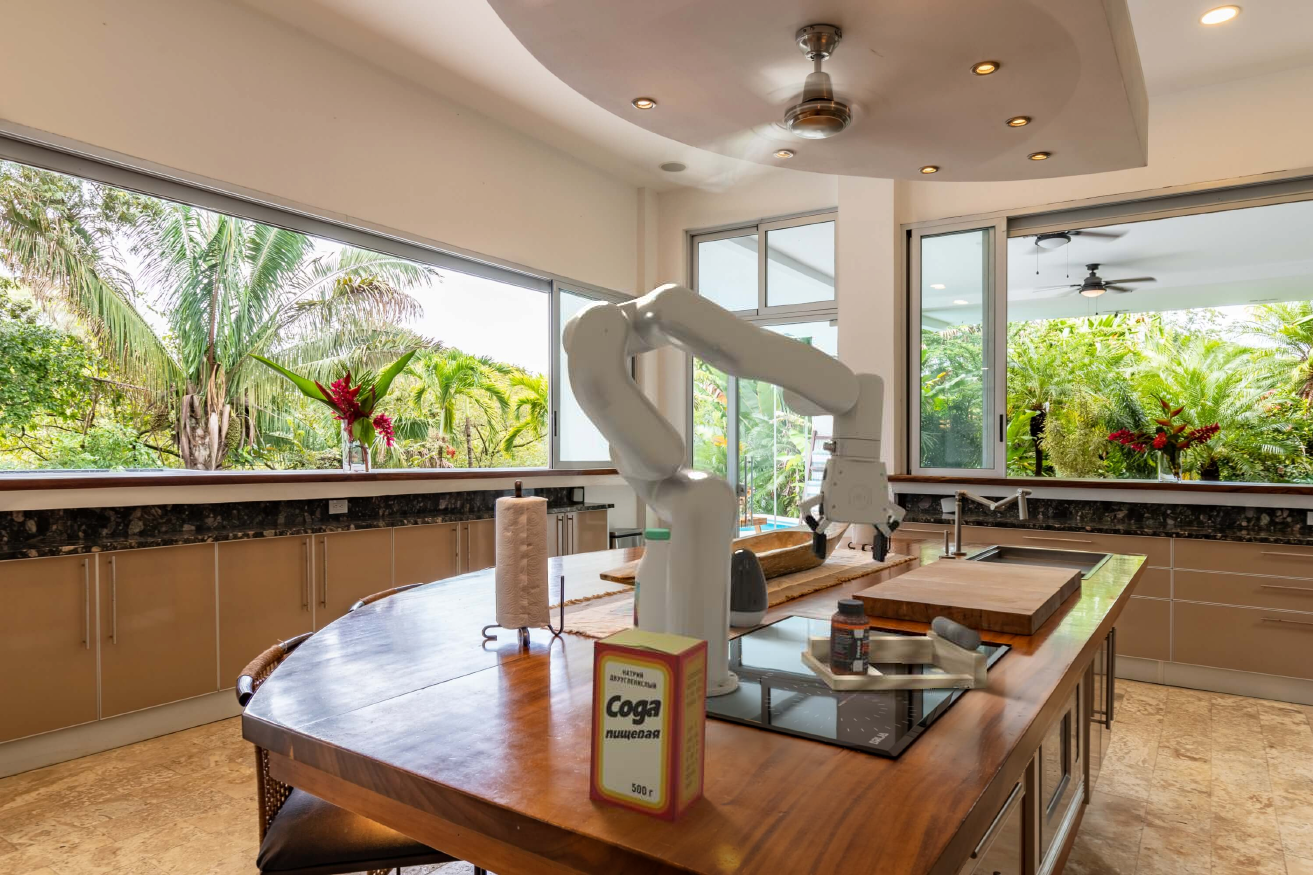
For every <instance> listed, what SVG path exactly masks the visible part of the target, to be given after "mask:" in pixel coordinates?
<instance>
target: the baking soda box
mask: <svg viewBox="0 0 1313 875" xmlns="http://www.w3.org/2000/svg"><path fill="white" fill-rule="evenodd" d="M707 652H708V641H705V640H700V639H694V638H689V637H683V636H678V635H672V634H667V633H664V634H661V633H654V632H648V631H642V630H635V629H633V628H627V627H626V628H624V629H621V630H618V631H616V632H613V633H611V634H608V635H606V636H603V637H601V638H598V639H597V640H593V665H592V666H593V669H592V695H591V696H592V699H591V726H590V728H591V729H590V730H591V731H590V732H591V733H590V734H591V735H590V760H589V762H590V765H589V766H590V768H589V793H588V796H589V797H588V799H589V800H593V801H595V802H598V803H603V804H606V805H610V806H612V807H616V808H620V809H624V810H627V811H630V812H635V813H637V814H641V815H644V816H649V817H652V818H654V819H659V820H662V821H666V822H669V823H672V824H676V823H677V822H678V821H679V820H681V818H682V817H683V816H684V815H685V814H686V813H688V812H689V810H691V809H692V808H693V807H694V806H695V804H696V803H698V802H699V801H700V800H701V799H702V798H703V796H704V789H705V788H704V786H705V752H706V751H705V750H706V717H707V696H706V687H707Z"/></svg>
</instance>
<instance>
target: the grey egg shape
mask: <svg viewBox="0 0 1313 875" xmlns="http://www.w3.org/2000/svg"><path fill="white" fill-rule="evenodd" d="M768 594H769V592H768V587H767V582H766V577H765V574H764V570H763V568H762V564H761V563H760V560H759V557H757V555H756V553H755V552H754V551H753V550H751V549H748V548H745V547H743V548H741V547H740V548H738V549H736V550H734V551H732V557H731V590H730V625H729V626H732V627H736V628H745V629H746V628H753V627H756V626H757V625H759V624H760V623H761V622H762V621H763V620H764V618H765V616H766V613H767V610H768V609H769V595H768Z"/></svg>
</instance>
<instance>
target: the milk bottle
mask: <svg viewBox="0 0 1313 875" xmlns="http://www.w3.org/2000/svg"><path fill="white" fill-rule="evenodd" d="M670 537H671V531H670V530H669V529H667V528H646V529H645V531H644V542H645V547H644V550H643V554H642V556H641V559H640V561H638V562H639V563H638V565H637V568H636V572H635V577H634V578H635V579H634V593H633V594H634V597H633V599H634V600H633V624H632V625H633V627H632V629H635V630H642V631H648V632H654V633H661V634H664V633H665V621H666V587H667V577H666V576H667V556H668V548H669V542H670Z"/></svg>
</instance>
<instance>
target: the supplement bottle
mask: <svg viewBox="0 0 1313 875" xmlns="http://www.w3.org/2000/svg"><path fill="white" fill-rule="evenodd" d="M864 604H865V602H863V601H862V600H858V599H851V598H850V599H849V598H842V599H841V598H840V599H838V600H837V606H836V607H837V608H836V609H838V611H836V612H835V613H833V614H832V615H831V618H830V635H829V637H830V670H831V671H832V672H833V673H835V674H837V675H840V676H848V675H866V674H867V673H868V668H869V666H868V664H869V637H870V629H871V628H870V618H869V617H868V616H867V615H866V614H865V612H864V610H865V608H864V607H865V606H864ZM869 665H870V664H869Z"/></svg>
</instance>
